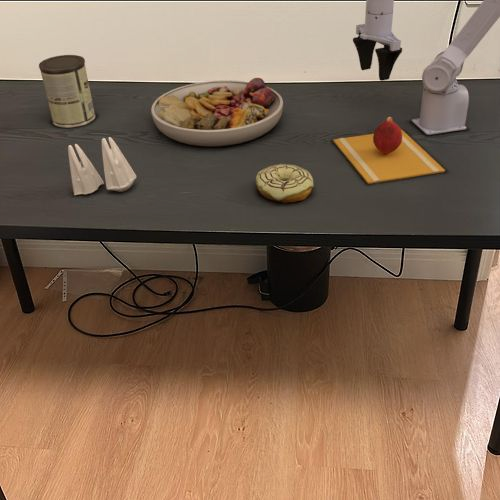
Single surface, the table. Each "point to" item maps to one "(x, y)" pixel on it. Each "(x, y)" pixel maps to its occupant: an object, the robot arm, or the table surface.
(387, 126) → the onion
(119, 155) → the shaker set
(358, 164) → the towel
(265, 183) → the decorated donut
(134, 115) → the table surface
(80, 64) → the coffee can
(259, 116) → the bowl
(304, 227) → the table surface
